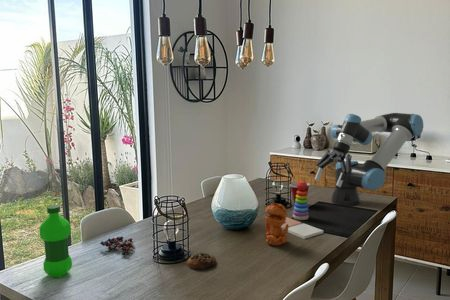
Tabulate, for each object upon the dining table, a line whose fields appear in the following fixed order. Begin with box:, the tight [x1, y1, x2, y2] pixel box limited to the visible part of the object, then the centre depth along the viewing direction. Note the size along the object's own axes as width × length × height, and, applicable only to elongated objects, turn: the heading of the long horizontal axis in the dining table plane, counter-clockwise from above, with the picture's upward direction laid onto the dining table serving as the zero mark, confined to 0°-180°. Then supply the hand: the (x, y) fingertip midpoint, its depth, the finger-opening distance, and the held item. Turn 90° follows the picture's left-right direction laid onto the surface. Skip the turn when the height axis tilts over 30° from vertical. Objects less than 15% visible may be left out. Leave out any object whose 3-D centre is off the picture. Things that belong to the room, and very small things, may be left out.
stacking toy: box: [292, 180, 310, 221], centre depth 213 cm, size 8×8×19 cm
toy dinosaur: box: [263, 201, 289, 246], centre depth 181 cm, size 11×11×18 cm
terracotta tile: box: [264, 216, 303, 231], centre depth 205 cm, size 12×12×1 cm
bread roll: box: [186, 252, 217, 271], centre depth 162 cm, size 11×11×5 cm
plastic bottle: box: [39, 204, 73, 278], centre depth 153 cm, size 10×10×25 cm
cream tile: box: [287, 223, 324, 240], centre depth 195 cm, size 12×12×1 cm
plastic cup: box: [289, 182, 311, 207], centre depth 235 cm, size 11×11×12 cm
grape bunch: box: [99, 236, 136, 256], centre depth 177 cm, size 15×14×5 cm
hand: (327, 183), depth 211 cm, fingers open, 13 cm apart
